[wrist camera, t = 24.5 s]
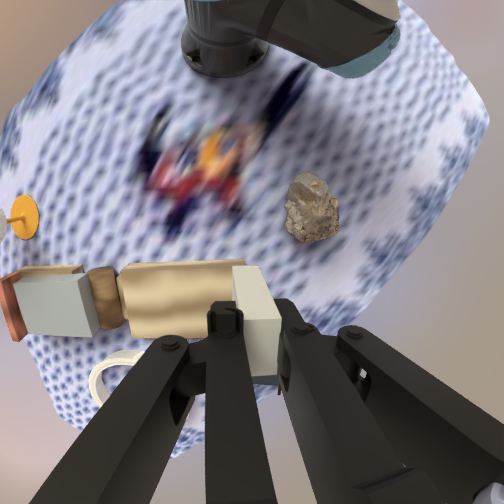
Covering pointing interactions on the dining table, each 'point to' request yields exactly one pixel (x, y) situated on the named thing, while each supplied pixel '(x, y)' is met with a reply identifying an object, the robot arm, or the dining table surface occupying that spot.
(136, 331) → the track
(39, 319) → the slab
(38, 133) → the dining table surface
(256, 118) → the dining table surface
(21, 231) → the cup
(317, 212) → the rock
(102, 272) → the roller
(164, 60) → the dining table surface
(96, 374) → the cream oval ring
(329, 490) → the robot arm
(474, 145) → the dining table surface
